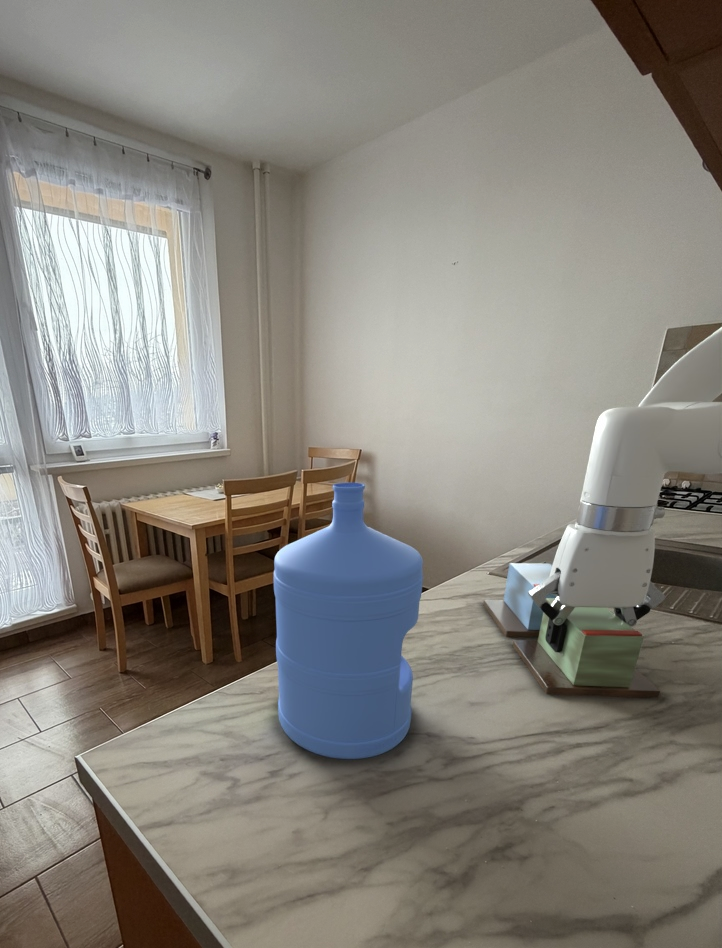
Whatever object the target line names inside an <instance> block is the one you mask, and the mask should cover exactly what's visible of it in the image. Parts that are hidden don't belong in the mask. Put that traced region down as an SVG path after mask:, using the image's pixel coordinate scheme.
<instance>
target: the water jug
mask: <svg viewBox="0 0 722 948" xmlns="http://www.w3.org/2000/svg"><path fill="white" fill-rule="evenodd" d="M365 489H366V484H364V483H362V482H338V483H333V485H332V490H333V500H332V504H331V506H332V521H331V523H330V524H329V525H328V526H326V527H324V528H322V529H320V530H317V531H315V532H313V533H310V534H308V535H306V536H304V537H301V538H299V539H297V540H295V541H293V542H291V543H288V544H286V545H284V546H283V547H282V548H280V549H279V551H277V553H276V554H275V556H274V560H273V564H274V570H273V592H274V597H275V621H276V622H275V623H276V640H275V655H276V656H275V658H276V662H277V675H278V701H277V709H278V711H277V712H278V720H279V724H280V726H281V728H282V730H283V731H284V733H285V734H286V736H287V737H288V738H289V739H290V740H291V741H292V742H293V743H295V744H297V745H298V746H299V747H301V748H303V749H304V750H305V751H308V752H310V753H313V754H317V755H319V756H323V757H326V758H333V759H339V760H340V759H341V760H359V759H367V758H372V757H377V756H379V755H382V754H384V753H387V752H389V751H390V750H392V749H394V748H396V747H397V746H398V745H399V744H400V743H401V742H402V741H404V739H405V737H406V735H407V734H408V732H409V731H410V730H409V729H410V726H411V719H412V695H413V694H412V693H413V692H412V691H413V681H414V675H413V670H412V667H411V665H410V663H409V662H408V660H407V659H406V658H405V657H404V656H403V655H402V653H403V652H402V651H403V643H404V639H405V638H406V636H407V634H408V632H409V631H410V630H412V629H413V628H414V627H415V626H416V625H417V623H418V620H419V611H420V601H421V599H422V593H423V582H424V572H423V566H424V561H423V557H422V555H421V554H420V552H419V551H418V550H417V549H415V548H414V547H413V546H411V545H409V544H407V543H404V542H402V541H400V540H398V539H396V538H394V537H391V536H390V535H387V534H385V533H383V532H381V531H378V530H377V529H374V528H372V527H370V526H368V525H366V523H365V521H364V508H365V500H364V490H365Z"/></svg>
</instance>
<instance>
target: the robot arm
mask: <svg viewBox="0 0 722 948" xmlns="http://www.w3.org/2000/svg"><path fill="white" fill-rule="evenodd" d="M720 395H722V326H720V328H718V329H717V330H715V331H714V332H713V333H712V334H710V335H709V336H708V337H706V338H705V339H704V340H702V341H701V342H699V343H698V344H697V345H695V346H694V347H693V348H691V349H690V350H689V351H688V352H686V353H685V354H684V355H683V356H681V357H680V358H679V359H678V360H677V361H675V363H673V364H672V366H670V367H669V368H668V370H666V372H664V374H663V375H662V376H661V377H660V378H659V379H658V380H657V382H655V384H654V385H653V387H652V388H651V389H650V390H649V391H648V393H647V394H646V395H645V396H644V398H643V399H642V400H641V401H640V403H639V404H638V406H621V407H612V408H609V409H606V410H605V411H603V412H602V413H601V414H600V415H599V417H598V419H597V420H596V424H595V428H594V432H593V437H592V442H591V447H590V452H589V457H588V462H587V466H586V471H585V476H584V481H583V486H582V490H581V495H580V501H579V505H578V510H577V514H576V519H575V523H569V524H568V525H567V526H566V528H565V530H564V532H563V533H562V537H561V539H560V542H559V544H558V547H557V550H556V552H555V556H554V559H553V561H552V564H551V565H552V568H551V572H550V576H549V578H548V579H546V580H545V581H543V582H542V583H541V584H539V585H538V586H536V587H535V588H533V589H532V590H530V591H529V593H528V595H529V596H530V597H531V599H532V600H533V601H534V602H535V603H536V604H537V606H538V607H539V608H540V609H541V610H542V611H543V612H544V613H545V614H546V615H547V616H548V617H549V621H548V626H547V631H546V636H545V639H546V642H547V643H548V644H549V645H550V647H551V648H552V649H553V650H554V651H555V652H562V649H563V645H564V640H565V635H566V631H567V626H566V625H565V624H564V621H565V620H566V619H567V617H568V616H569V615H570V613H571V612H572V611H573V610H574V608H575V607H599V608H607V609H609V608H611V609H613V611H614V612H613V613H614V614H615V615H616V616H617V617H619V618H620V619H621V620H623V621H624V622H625V623H626V624H628V625H629V626H630V627H632V628H633V627H634V626H636V625H637V624H638V620H640V619H642V618H643V617H645V616H646V615H648V614H649V613H650V612H651V609H654V608H655V607H657V606H658V605H660V604H661V603H663V602H664V601H665V599H666V595H665V594H664V593H663V592H662V591H661V590H660V589H659V588H658V587H657V586H656V585H655V584H654V583H653V582H652V580H651V578H652V574H653V568H654V559H655V550H656V549H655V548H656V535H655V534H656V533H655V532H656V531H655V530H654V529H653V528H652V526H653V524H654V520H656V519H662V518H664V517H665V515H666V508H665V507H664V506H659V504H658V501H659V497H660V493H661V489H662V486H663V482H664V478H665V475H666V474H667V473H671V472H675V473H688V474H696V475H719V474H720V475H722V401H715V400H716V399H717V398H718V397H719V396H720ZM549 593H550V594H552V595H555V596H557V598H556V599H555V600H554V602H553V603H552V604H551V605H550V604H549V603H548V602H547V600H546V596H547V595H548V594H549Z"/></svg>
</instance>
